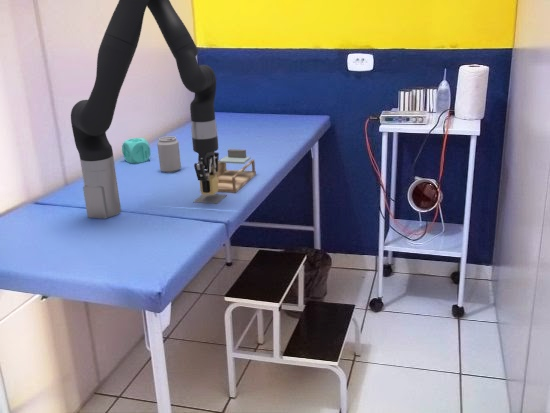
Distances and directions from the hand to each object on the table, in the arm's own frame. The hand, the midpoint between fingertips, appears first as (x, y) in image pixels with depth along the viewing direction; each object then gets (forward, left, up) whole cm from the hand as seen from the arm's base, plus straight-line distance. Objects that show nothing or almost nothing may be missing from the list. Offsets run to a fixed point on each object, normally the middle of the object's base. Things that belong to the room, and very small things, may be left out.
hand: (209, 189), depth 184 cm
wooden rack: (+16, 0, -3) cm, 16 cm away
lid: (+23, 0, +3) cm, 23 cm away
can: (+28, +27, -4) cm, 39 cm away
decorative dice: (+38, +46, -4) cm, 60 cm away
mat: (0, 0, -3) cm, 3 cm away
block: (0, 0, -1) cm, 1 cm away
